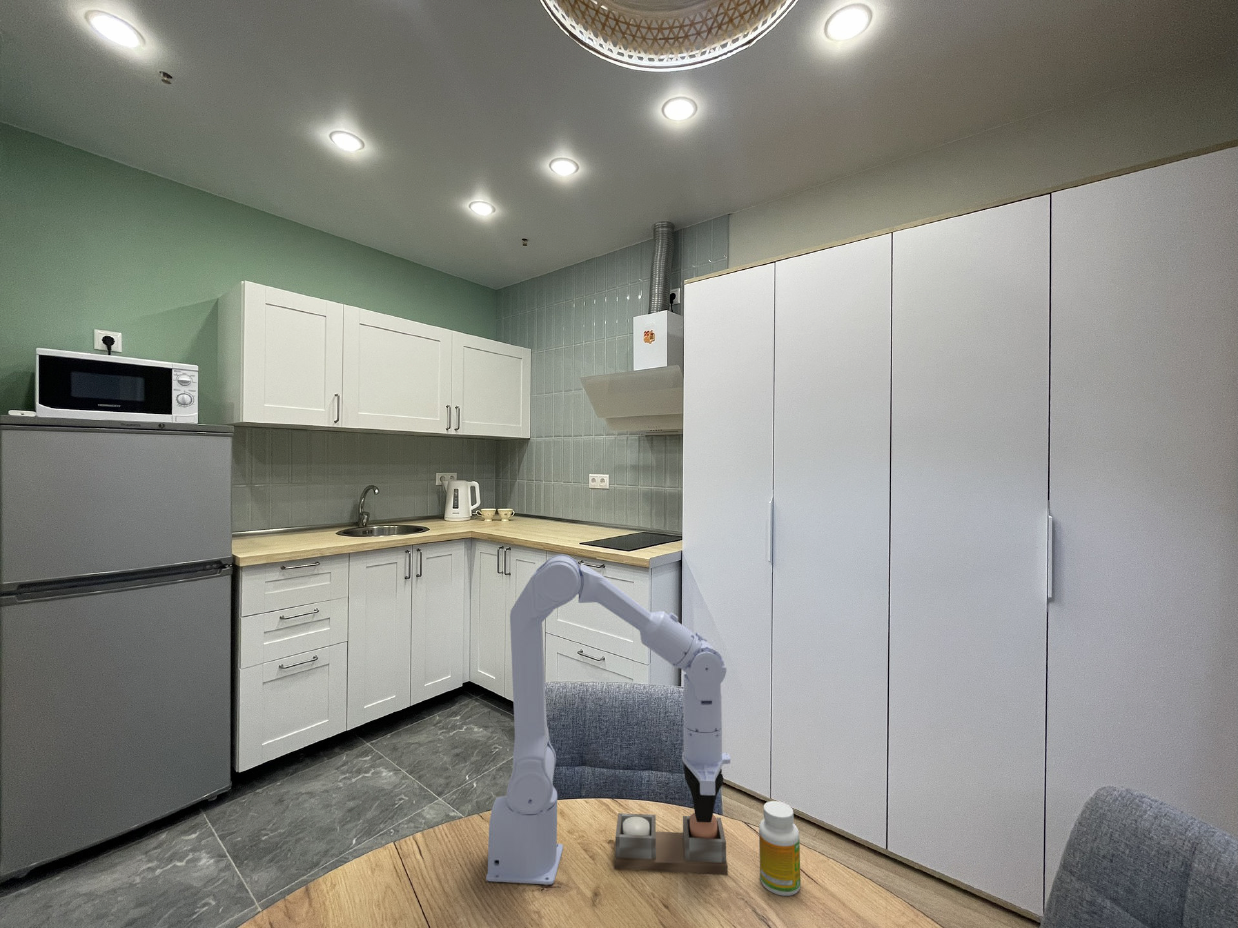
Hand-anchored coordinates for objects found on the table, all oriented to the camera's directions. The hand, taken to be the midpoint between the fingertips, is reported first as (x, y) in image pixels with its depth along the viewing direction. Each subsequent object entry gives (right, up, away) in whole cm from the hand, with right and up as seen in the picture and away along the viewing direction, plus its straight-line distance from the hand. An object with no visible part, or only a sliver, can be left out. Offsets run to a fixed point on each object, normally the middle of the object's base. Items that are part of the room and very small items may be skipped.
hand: (703, 819), depth 77 cm
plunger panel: (-5, -5, 0) cm, 7 cm away
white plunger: (-10, -4, 0) cm, 11 cm away
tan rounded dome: (0, -2, 0) cm, 2 cm away
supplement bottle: (+10, -5, -6) cm, 12 cm away
